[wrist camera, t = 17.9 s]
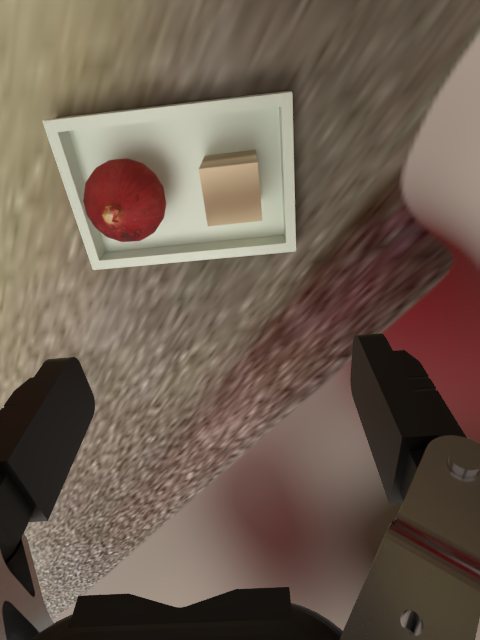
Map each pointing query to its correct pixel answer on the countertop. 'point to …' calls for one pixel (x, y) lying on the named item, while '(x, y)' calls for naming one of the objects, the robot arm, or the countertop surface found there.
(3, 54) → the countertop surface
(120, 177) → the pomegranate
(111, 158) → the tray
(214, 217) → the maple block
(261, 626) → the robot arm
